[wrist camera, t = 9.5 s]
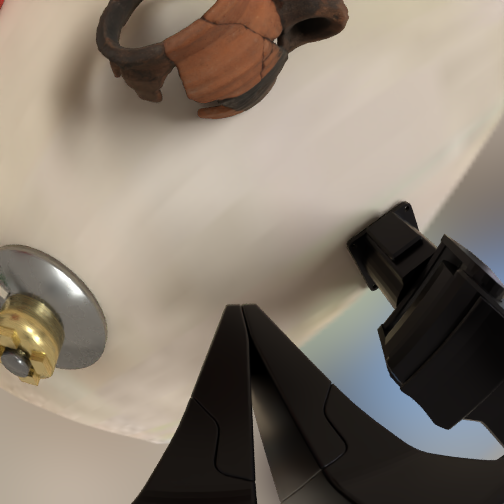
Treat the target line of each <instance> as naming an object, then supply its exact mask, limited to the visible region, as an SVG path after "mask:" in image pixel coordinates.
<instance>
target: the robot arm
mask: <svg viewBox="0 0 504 504" xmlns="http://www.w3.org/2000/svg"><path fill="white" fill-rule="evenodd" d="M405 207H406V209H405ZM353 244H355V245H354V246H353V247H352V245H353ZM347 248H348V250H349V252H350V253H351V255H352V257H353V259H354V261H355V262H356V264H357V266H358V268H359V270H360V272H361V274H362V275H363V277H364V279H365V281H366V283H367V285H368V287H369V288H370V290H371V291H374V290H377V289H378V288H379V289H380V290H381V291H382V293H383V294H384V295H385V297H386V298H387V300H388V301H389V302H390V303H391V305H392V307H393V308H394V309H395V310H394V311H393V312H392V314H391V315H390V316H389V318H388V319H387V320H386V321H385V322H384V324H381V326H380V327H379V328H378V334H379V338H380V341H381V345H382V349H383V353H384V357H385V361H386V365H387V369H388V371H389V373H390V377H391V378H392V379H393V380H394V381H395V382H396V383H397V384H398V385H399V386H400V390H401V391H402V392H403V393H405V394H407V395H408V396H410V397H411V398H412V399H413V400H415V401H416V402H417V403H418V404H419V405H420V406H421V407H422V408H423V410H424V411H425V412H426V413H427V415H428V416H429V417H430V419H431V420H432V421H433V423H434V424H435V425H437V426H440V427H442V428H444V429H448V430H449V429H451V428H452V427H453V426H455V425H456V424H457V423H458V422H460V421H461V420H462V419H463V420H470V421H477V422H481V423H482V424H483V425H484V426H485V427H486V428H487V429H488V430H489V431H490V433H491V434H492V435H493V436H494V437H495V438H496V439H497V441H498V442H499V443H500V444H501V445H502V446H503V448H504V285H503V283H502V282H501V281H500V280H499V279H498V277H497V276H496V275H495V274H494V273H493V272H492V270H491V269H490V268H489V267H488V266H487V265H485V264H484V263H483V262H482V261H481V260H480V259H479V258H477V257H476V256H475V255H474V254H473V253H472V252H470V251H469V250H468V249H466V248H465V247H463V246H462V245H460V244H459V243H457V242H456V241H455V240H453V239H452V238H450V237H449V236H447V235H446V234H444V235H443V237H442V239H441V243H440V245H439V246H438V247H437V246H435V245H434V244H433V243H432V242H431V241H430V240H429V239H427V238H426V237H425V236H424V235H423V234H422V233H420V232H419V229H418V226H417V222H416V219H415V216H414V213H413V210H412V207H411V205H410V204H409V203H408V202H406V201H404V202H402V203H401V204H399V205H398V206H397V207H395V208H394V209H393V210H391V211H390V212H389V213H387V214H386V215H384V216H383V217H382V218H380V219H379V220H377V221H376V222H375V223H373V224H372V225H370V226H369V227H368V228H366V229H365V230H363V231H362V232H361V233H359V234H358V235H356V236H355V237H353V238H352V239H351V240H349V241H348V243H347ZM373 285H374V286H373ZM252 407H253V410H254V414H255V418H256V421H257V425H258V428H259V432H260V436H261V439H262V443H263V446H264V450H265V453H266V457H267V460H268V464H269V466H270V470H271V473H272V477H273V480H274V484H275V487H276V490H277V493H278V496H279V499H280V502H281V504H504V455H503V456H502V457H500V458H499V459H497V460H478V459H468V458H459V457H451V456H444V455H437V454H431V453H427V452H424V451H421V450H418V449H416V448H413V447H412V446H410V445H408V444H407V443H405V442H404V441H402V440H401V439H399V438H398V437H397V436H395V435H394V434H393V433H391V432H390V431H388V430H387V429H386V428H384V427H383V426H382V425H380V424H379V423H378V422H376V421H375V420H374V419H372V418H371V417H370V416H369V415H367V414H366V413H365V412H364V411H362V410H361V409H360V408H359V407H358V406H356V405H355V404H354V403H353V402H352V401H351V400H350V399H349V398H348V397H347V396H345V395H344V394H343V393H342V392H341V391H340V390H339V389H338V388H337V387H336V386H335V385H334V384H331V381H330V380H329V379H328V378H327V377H326V376H325V375H324V374H323V373H322V372H321V371H320V370H319V369H318V368H317V367H316V366H315V365H314V364H313V363H312V362H311V361H310V360H309V359H308V358H307V357H306V356H305V355H304V354H303V352H302V351H301V350H300V349H299V348H298V347H297V346H296V345H295V344H294V343H293V342H292V341H291V340H290V339H289V338H288V337H287V336H286V335H285V334H284V333H283V332H282V331H281V330H280V329H279V328H278V326H277V325H276V324H275V323H274V322H273V321H272V320H271V319H270V318H269V317H268V316H267V315H266V314H265V313H264V312H263V311H262V310H261V308H260V307H259V306H258V305H256V304H243V305H242V306H241V305H239V304H231V305H226V307H225V309H224V312H223V314H222V317H221V320H220V322H219V325H218V327H217V330H216V332H215V335H214V338H213V340H212V343H211V345H210V348H209V351H208V353H207V356H206V358H205V361H204V364H203V366H202V369H201V371H200V374H199V377H198V379H197V382H196V384H195V387H194V390H193V392H192V395H191V398H190V400H189V402H188V405H187V407H186V410H185V412H184V415H183V417H182V419H181V422H180V424H179V426H178V428H177V430H176V432H175V434H174V436H173V438H172V440H171V442H170V444H169V445H168V447H167V449H166V451H165V452H164V454H163V456H162V458H161V459H160V461H159V463H158V464H157V466H156V468H155V469H154V471H153V473H152V474H151V476H150V478H149V480H148V481H147V483H146V485H145V486H144V488H143V489H142V490H141V492H140V493H139V495H138V496H137V497H136V499H135V500H134V501H133V502H132V503H131V504H257V497H256V484H255V462H254V461H255V460H254V439H253V418H252V417H253V416H252Z"/></svg>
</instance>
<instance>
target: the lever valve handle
mask: <svg viewBox="0 0 504 504" xmlns="http://www.w3.org/2000/svg"><path fill="white" fill-rule="evenodd" d="M64 339H65V333H64V329H63V327H62V325H61V323H60V321H59V320H58V318H57V317H56V316H55V315H54V314H53V313H52V311H51V310H49V309H48V308H47V307H46V306H45V305H44V304H42V303H41V302H39V301H37V300H36V299H34V298H32V297H29V296H26V295H22V294H14V295H11V296H9V297H8V298H7V299H6V301H5V303H4V304H3V306H2V307H1V309H0V363H2V362H1V356H2V354H3V352H4V350H5V347H9V348H13V349H16V350H17V348H19V349H20V350H22V351H23V352H24V353H25V354H26V355H27V356H28V357H29V360H30V362H31V364H32V365H31V367H30V370H29V373H28V376H27V377H25V378H23V377H19V376H18V377H19V379H20V380H21V381H22V382H26V383H29V384H32V385H36V386H38V383H39V380H40V379H45V378H49V377H51V376H52V374H53V372H54V369H55V366H56V363H57V360H58V357H59V354H60V351H61V348H62V345H63V343H64Z"/></svg>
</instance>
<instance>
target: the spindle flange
mask: <svg viewBox="0 0 504 504" xmlns="http://www.w3.org/2000/svg"><path fill="white" fill-rule="evenodd" d="M14 294H22V295H26V296H29V297H32V298H34V299H36V300H37V301H39V302H41V303H42V304H44V305H45V306H46V307H47V308H48V309H49V310H51V311H52V313H53V314H54V315H55V316H56V317H57V318H58V320H59V321H60V323H61V325H62V327H63V329H64V333H65V339H64V343H63V345H62V348H61V351H60V354H59V357H58V360H57V363H56V366H55V367H56V368H61V369H80V368H84V367H88V366H90V365H92V364H93V363H95V362H96V361H97V360H98V359H99V358H100V357H101V355H102V353H103V351H104V348H105V344H106V340H107V324H106V320H105V317H104V314H103V312H102V309H101V307H100V305H99V304H98V302H97V300H96V298H95V297H94V296H93V294H92V293H91V291H90V290H89V289H88V288H87V286H86V285H85V284H84V283H83V282H82V281H81V280H80V279H79V278H78V277H77V276H76V275H75V274H74V273H73V272H72V271H71V270H70V269H69V268H67V267H66V266H65V265H63V264H62V263H61V262H59V261H58V260H56V259H55V258H53V257H51V256H50V255H48V254H46V253H44V252H42V251H39V250H37V249H34V248H31V247H27V246H23V245H6V246H3V247H0V309H1V307H2V306H3V304H4V303H5V301H6V299H7V298H8V297H9V296H11V295H14ZM1 362H2V364H3V365H4V366H5V368H6V369H8V370H9V371H10V372H11V373H13V374H15V375H16V376H19V377H23V378H25V377H27V376H28V373H29V370H30V367H31V365H32V364H31V362H30V360H29V357H28V356H27V355H26V354H25V353H24V352H23V351H22V350H20V349H19V348H17V350H16V349H13V348H9V347H5V350H4V352H3V354H2V356H1Z"/></svg>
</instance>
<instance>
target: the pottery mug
mask: <svg viewBox="0 0 504 504" xmlns="http://www.w3.org/2000/svg"><path fill="white" fill-rule="evenodd" d="M142 1H143V0H110V1H109V3H108V6H107V7H106V8H105V10H104V11H103V13H102V15H101V17H100V21H99V24H98V27H97V33H96V42H97V45H98V50H99V51H100V52H101V53H102V54H103V55H104V56H105V57H106V58H108V59H109V61H110V65H111V68H112V71H113V73H114V75H115V77H120V76H121V74H122V77H123V78H124V80H125V82H126V83H127V85H129V86H130V87H131V88H133V89H134V90H135V91H136V93H137V94H138V96H139V97H140V98H141V99H143V100H147V101H151V102H156V103H158V102H161V101H162V93H161V91H160V88H161V87H162V85H163V83H164V81H165V79H166V77H167V75H168V74H169V73H170V72H171V71H172V69H173V68H174V67H175V66H176V67H177V69H178V73H179V76H180V78H181V80H182V82H183V86H184V88H185V90H186V94H187V96H188V98H189V99H192V100H194V101H196V102H200V103H208V102H211V101H214V100H217V101H218V103H219V104H221V106H216V107H209V108H201V109H199V110H198V116H199V117H201V118H211V119H219V118H226V117H230V116H234V115H236V114H239V113H242V112H243V111H246V110H248V109H250V108H252V107H253V106H254V105H256V104H257V103H259V102H260V101H261V100H262V99H263V98H264V97H265V96H266V95H267V94H268V93H269V91H270V90H271V88H272V87H273V85H274V84H275V81H276V79H277V76H278V74H279V73H280V71H281V70H282V68H283V66H284V64H285V62H286V61H287V60H288V53H289V52H291V51H293V50H294V49H295V48H297V47H299V46H301V45H304V44H306V43H310V42H316V41H320V40H323V39H327V38H330V37H332V36H334V35H336V34H338V33H340V32H341V31H342V30H343V29H344V28H345V26H346V23H347V21H348V19H349V16H348V9H347V7H346V6H345V4H344V2H343V0H217V1H216V3H215V4H214V5H213V6H212V7H211V8H210V9H209V10H208V11H207V12H206V13H205V14H204V15H203V16H202V17H201V18H200V19H198V20H196V21H195V22H193V23H192V24H191V25H189V26H188V27H186V28H185V29H183V30H181V31H180V32H178V33H176V34H174V35H173V36H171V37H169V38H167V39H165V40H164V41H163V42H161V43H156V44H152V45H149V46H146V47H142V48H124V47H122V46H120V45H119V42H118V41H119V37H120V33H121V28H122V27H123V26H124V25H125V24H126V22H127V21H128V19H129V17H130V16H131V14H132V13H133V11H134V10H135V9H136V7H137V6H138V5H139V4H140V3H141V2H142ZM276 38H277V44H276V43H274V42H273V41H274V39H276Z"/></svg>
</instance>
